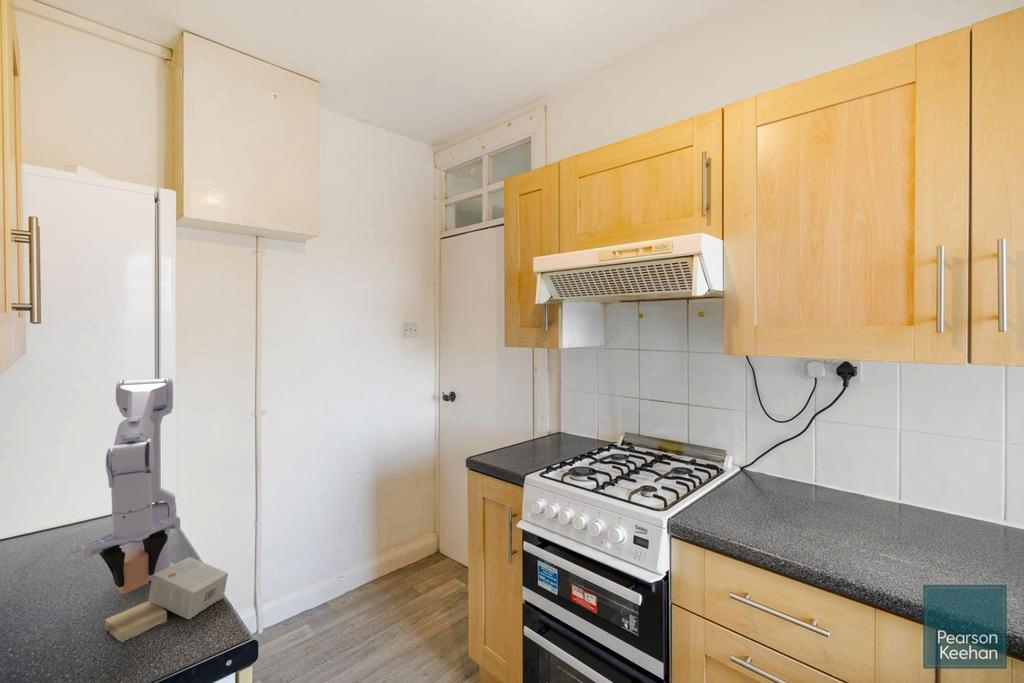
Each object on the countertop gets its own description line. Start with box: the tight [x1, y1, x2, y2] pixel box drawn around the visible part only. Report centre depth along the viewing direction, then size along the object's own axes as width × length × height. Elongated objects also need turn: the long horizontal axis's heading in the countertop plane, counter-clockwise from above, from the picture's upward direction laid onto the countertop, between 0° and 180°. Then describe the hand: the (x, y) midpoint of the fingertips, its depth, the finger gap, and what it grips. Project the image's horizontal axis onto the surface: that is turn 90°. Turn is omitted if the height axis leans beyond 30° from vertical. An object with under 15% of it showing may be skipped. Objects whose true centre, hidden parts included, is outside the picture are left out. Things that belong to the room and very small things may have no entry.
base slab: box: [104, 600, 168, 641], centre depth 86 cm, size 7×7×2 cm
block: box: [112, 546, 150, 595], centre depth 87 cm, size 4×4×6 cm
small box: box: [147, 556, 229, 620], centre depth 92 cm, size 8×6×10 cm
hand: (135, 579), depth 86 cm, fingers closed on block, 4 cm apart
